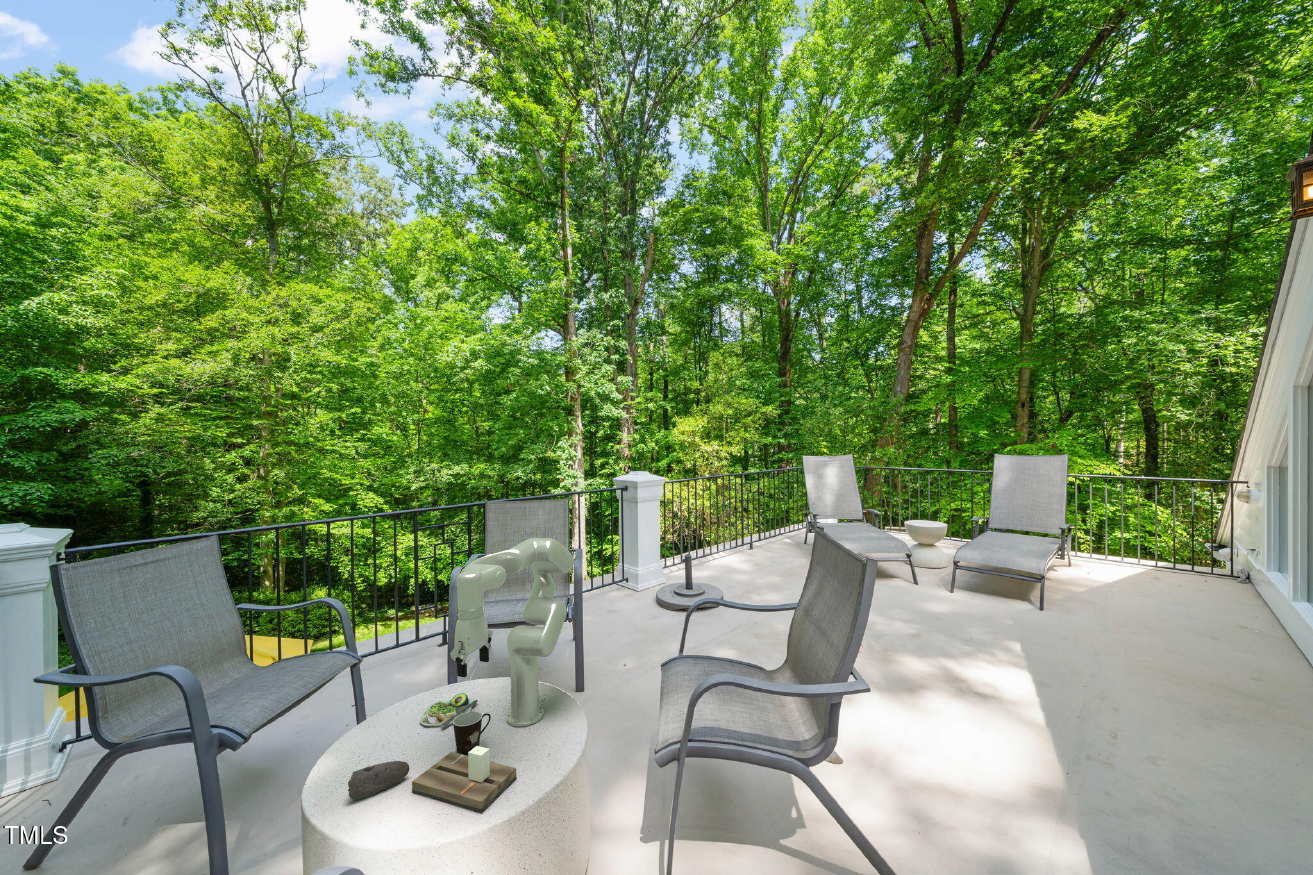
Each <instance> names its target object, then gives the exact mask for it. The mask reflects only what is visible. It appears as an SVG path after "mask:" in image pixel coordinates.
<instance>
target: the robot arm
mask: <svg viewBox="0 0 1313 875" xmlns="http://www.w3.org/2000/svg"><path fill="white" fill-rule="evenodd" d="M529 566H530V567H531V569H532V573H533V586H532V589H531V591H530V594H529V597H528V599H527V600H526V604H525V606H524V608H523V612H522V619H523V621H524V622H525V623H527V624H530V625H527V624H523V625H516V626H514V627H513V628H511V629H510V631H509V633H508V634H507V637H506V645H507V652H508V656H509V664H510V711H509V712H508V713H507V715H506V723H507V724H508V725H509V726H512V727H517V728H518V727H522V728H523V727H527V726H531V725H535V724H536V723H538V722H539V721H540V720H542V718H543V717H544V709H543V708H542V707H541V705H542V702H544V701H545V700H546V699H547V698H546V695H545V694H541V695H539V693H540V692H539V690H540V689H539V688H540V687H539V683H540V682H539V681H540V680H539V662H538V659H537V657H540V658H547V657H549V656H551V655H552V654H553V652H554V651H555V648H556V646H557V644H558V641H559V638H560V635H561V632H562V629H563V626H564V623H565V621H566V615H567V606H566V603H565V602H564V601H563V600H562V599H558V598H554V595H555V593H556V585H555V584H556V583H555V581H554V579H553V577H552V574H561V575H562V574H564V575H565V574H567V573H570V572H571V570H572V569H573V567H574V557H573V554H572V553H571V552H570V551H569V550H568V548H566V546H564V545H563V544H562V543H560V542H559V541H558V540H557V539H555V538H551V537H549V538H548V537H531V538H528V539H526V540H524V541H522V542H520V543H518V544H517V545H515V546H513V547H511V548H509V549H506V550H500V551H499V552H495V553H491V554H487V555H484V556H482V557H479V558H477V559H475V560H472V561H471V562H470V563H468V564H467V565H466V566H465V567H464V568H463V569H462V572H461V573H459V574H458V575H457V577H456V590H457V614H458V615H457V617H458V620H456V622H455V623H456V624H455V627H454V628H455V630H454V648H453V649H452V651H451V652H450V653H449V655H450V657H451V659H452V662H454V664H455V665H456V675H457V677H459V678H467V677H468V664H467V663H466V662H467V658H468V656H470V655H471V654H474V652H476V651H477V650H478V653H479V662H482V663H489V662H490V648H491V642H492V637H493V633H494V632H493V631H494V630H492V629H489V628H488V620H487V615H486V613H485V592H488V591H493V590H496V589H499V588H500V587H502V586H503V585H504V584H505V582H506V579H507V575H509V574H510V575H511V574H516V573H518V572H519V573H520V572H521V571H522V570H524V569H526V568H527V567H529ZM461 657H462V658H461Z"/></svg>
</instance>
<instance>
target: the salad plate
mask: <svg viewBox="0 0 1313 875" xmlns="http://www.w3.org/2000/svg"><path fill="white" fill-rule="evenodd" d="M478 702H479V700H478V699H475V700H472V699H470V698H469V696H468V695H467V694H466V693H464V692H463V693H457V694H455V695H454V696H452V698H451V699H449V700H440V701H437V702H435V703H432V704H430V705H428V706H427V708H426V709H425V711H424V712H423V714H422V715H421V717H420V720H419V722H420V724H421V725H422V726H424V727H427V728H439V727H440V728H446V727H448V726H451V725H453V720H454V718H456V717H457V716H458V715H460V714H463V713H466V712H471V711H472V708H473V707H474V705H476V704H477V703H478ZM430 717H433V718H437V719H438V721H437V722H430V720H429V718H430Z"/></svg>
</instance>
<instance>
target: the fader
mask: <svg viewBox="0 0 1313 875" xmlns="http://www.w3.org/2000/svg"><path fill="white" fill-rule="evenodd" d="M490 753H491V752H490V748H487V747H482V746H480V745H479V746H476V747H475V748H473V749H472V750H471V751H470V752H468V774H469V779H471V780H475V781H478V782H484V780H485V779H486V778H487V777H488V776H489V775H490V762H491V761H490V760H491V759H490V756H491V755H490Z"/></svg>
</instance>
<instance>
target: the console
mask: <svg viewBox="0 0 1313 875" xmlns="http://www.w3.org/2000/svg"><path fill="white" fill-rule="evenodd" d="M516 780H517V767H515V766H514V767H513V766H509V765H507V764H501V763H498V762H493V761H490V775H489V776H488V777H487V778H486V779H485V780H484V782H478V781H475V780H471V779H469V774H468V756H466V755H462V754H458V753H457V752H454V751H450V752H449V753H447V754H446V755H444V757H442V758H441V759H440V760H438V761H437V762H436V763H434V764H433V765H431V766H430V767H429V768H428V769H426V770H425V771H424V772H423V773H421V774H420V775H418V776H417V777H416V778H415V779H413V780H412V781H411V793H412V794H415V795H418V796H422V797H425V798H428V799H430V800H431V799H432V800H434V801H438V802H442V803H445V804H448V805H452V806H456V807H458V808H461V809H464V810H467V811H472V812H474V813H478V814H483V813H484V812H485V811H487V809H488V808H489V807H490V806H492V804H493V803H494V802H495V801H496V800H497V799H498V798H499V797H500V796H501V795H502V794H503V793H504V792H505V791H506V790H507V789H508V788H509V787H510V786H511V785H512V784H513V783H514V782H515V781H516Z"/></svg>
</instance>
